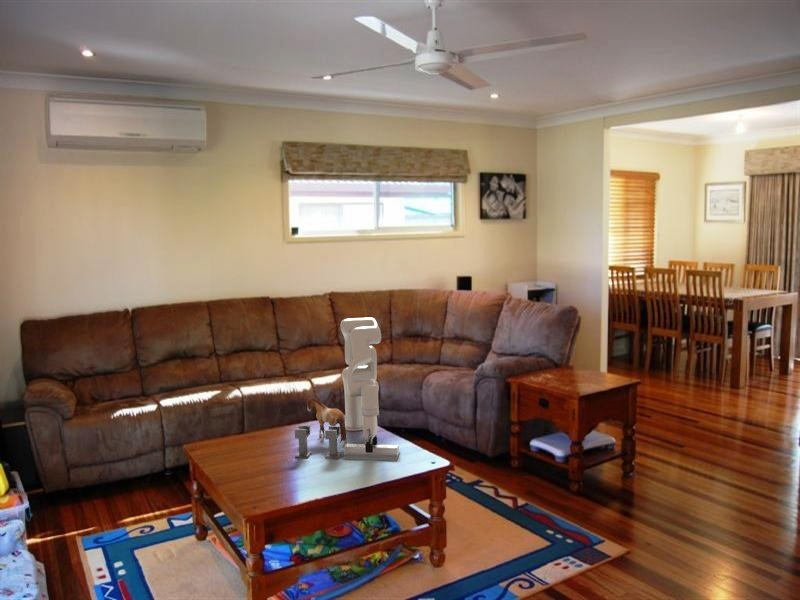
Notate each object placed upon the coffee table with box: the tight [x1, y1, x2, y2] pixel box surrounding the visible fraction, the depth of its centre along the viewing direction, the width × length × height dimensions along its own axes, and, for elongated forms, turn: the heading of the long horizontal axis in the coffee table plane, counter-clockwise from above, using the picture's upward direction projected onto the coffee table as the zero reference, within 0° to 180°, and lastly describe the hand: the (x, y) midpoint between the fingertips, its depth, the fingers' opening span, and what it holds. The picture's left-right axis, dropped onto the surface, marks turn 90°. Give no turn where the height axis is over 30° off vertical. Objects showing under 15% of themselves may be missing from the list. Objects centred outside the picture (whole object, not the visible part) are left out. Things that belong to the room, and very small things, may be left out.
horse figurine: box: [305, 396, 348, 447], centre depth 318 cm, size 31×8×21 cm, turn 39°
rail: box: [343, 443, 400, 458], centre depth 300 cm, size 4×24×4 cm, turn 81°
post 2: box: [324, 425, 343, 460], centre depth 300 cm, size 7×6×13 cm
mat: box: [342, 451, 401, 461], centre depth 300 cm, size 10×24×1 cm, turn 81°
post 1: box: [294, 424, 313, 459], centre depth 302 cm, size 7×6×13 cm
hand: (371, 448), depth 300 cm, fingers open, 9 cm apart
